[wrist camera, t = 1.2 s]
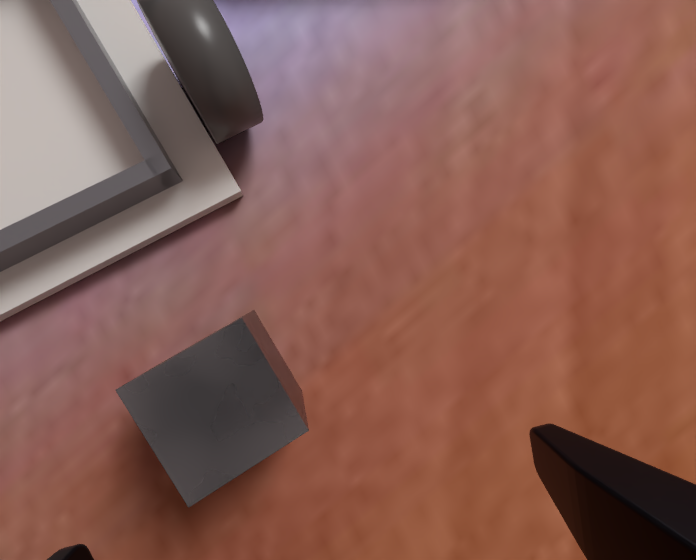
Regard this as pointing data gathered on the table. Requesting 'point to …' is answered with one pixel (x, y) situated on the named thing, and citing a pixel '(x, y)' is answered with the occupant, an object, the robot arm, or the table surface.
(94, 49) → the toy car chassis
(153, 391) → the dark grey cube
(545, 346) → the table surface
